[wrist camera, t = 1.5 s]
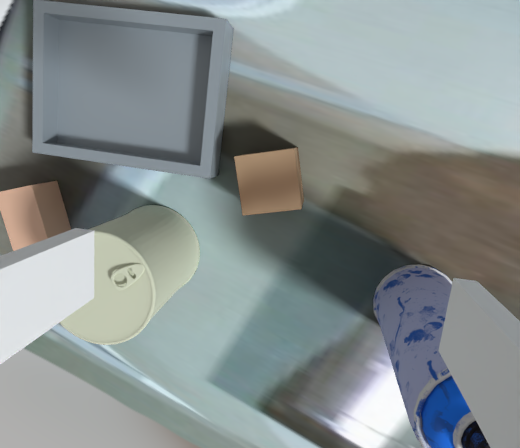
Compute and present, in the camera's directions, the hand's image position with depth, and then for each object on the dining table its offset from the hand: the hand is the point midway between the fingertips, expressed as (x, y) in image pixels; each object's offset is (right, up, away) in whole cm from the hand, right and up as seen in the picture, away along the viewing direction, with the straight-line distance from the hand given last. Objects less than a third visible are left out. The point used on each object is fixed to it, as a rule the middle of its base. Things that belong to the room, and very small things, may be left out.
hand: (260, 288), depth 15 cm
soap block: (-22, +4, +28) cm, 36 cm away
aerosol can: (+15, -5, +25) cm, 29 cm away
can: (-11, 0, +28) cm, 29 cm away
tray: (-12, +15, +24) cm, 31 cm away
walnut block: (+1, +7, +24) cm, 25 cm away
